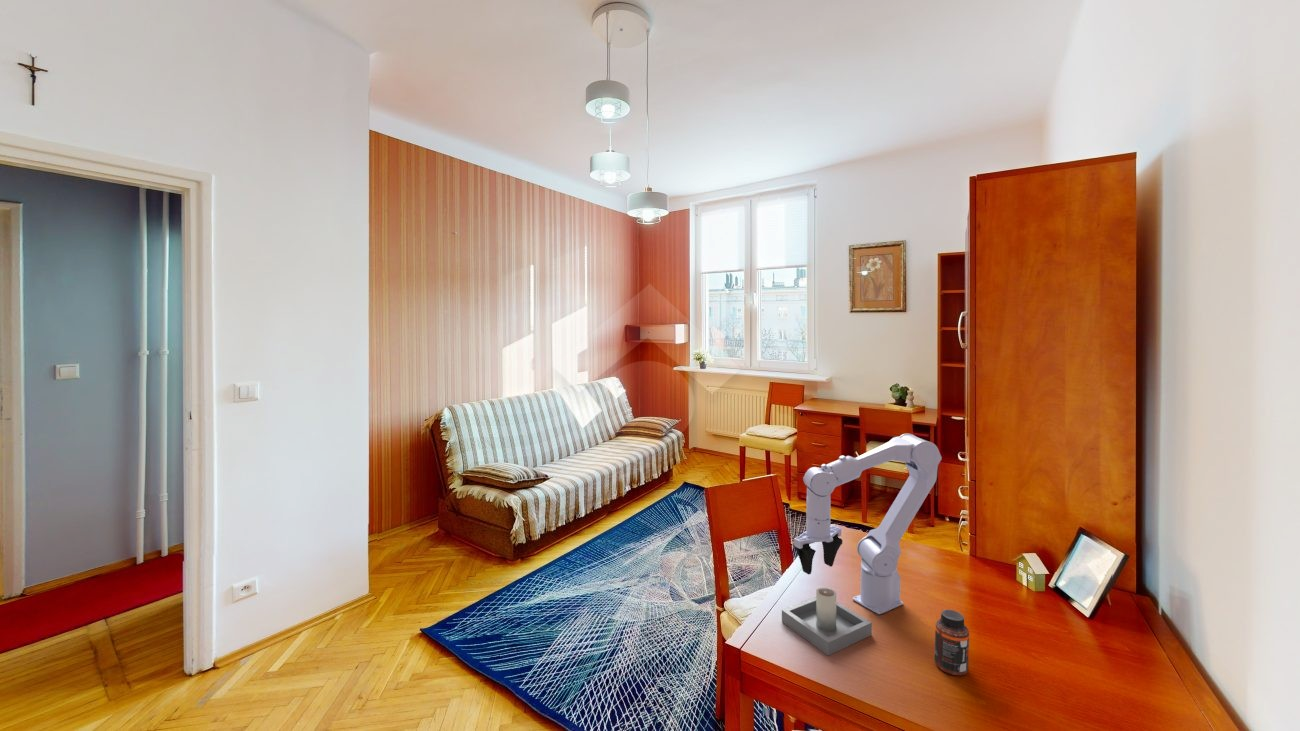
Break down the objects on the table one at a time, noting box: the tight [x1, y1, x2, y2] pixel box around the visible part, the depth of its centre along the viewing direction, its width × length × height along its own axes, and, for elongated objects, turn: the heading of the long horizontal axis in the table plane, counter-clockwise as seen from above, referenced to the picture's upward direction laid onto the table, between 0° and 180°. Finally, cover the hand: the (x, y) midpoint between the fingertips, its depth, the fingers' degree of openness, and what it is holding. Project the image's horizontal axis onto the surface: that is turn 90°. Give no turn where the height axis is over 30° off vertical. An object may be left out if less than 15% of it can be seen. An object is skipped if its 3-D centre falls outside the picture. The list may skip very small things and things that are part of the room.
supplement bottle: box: [934, 609, 970, 676], centre depth 101 cm, size 6×6×11 cm
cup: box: [815, 587, 837, 631], centre depth 115 cm, size 4×4×8 cm
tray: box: [781, 596, 873, 656], centre depth 115 cm, size 14×14×3 cm
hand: (817, 568), depth 124 cm, fingers open, 7 cm apart
